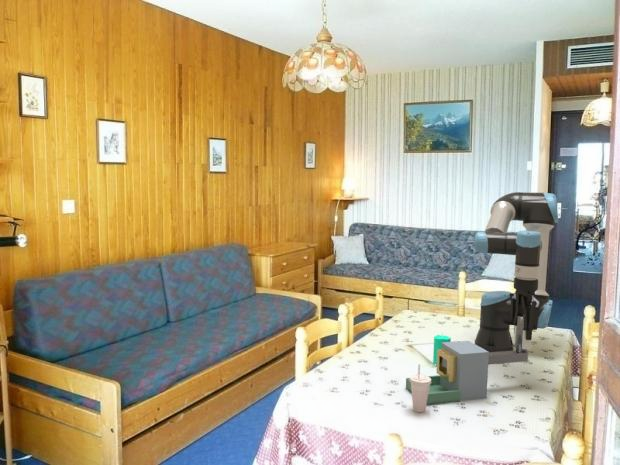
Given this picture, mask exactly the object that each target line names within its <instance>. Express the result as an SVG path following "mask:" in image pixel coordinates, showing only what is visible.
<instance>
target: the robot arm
mask: <svg viewBox="0 0 620 465" xmlns="http://www.w3.org/2000/svg"><path fill="white" fill-rule="evenodd" d="M557 201H558V200H557V196H556V194H555V193H549V192H519V191H518V192H517V191H515V192H510V193H507V194H505V195H502V196H500V197H499V198H498V199H497V200H495V202H494V203H492V205H491V207H490V217H489V219H488V222H487V224H486V227H485V229H484V231H483V230H482V231H477V232H476V233H475V235H474V241H473V242H474V244H473V246H474V250H475V252H477V253H481V254H493V255H507V256H508V255H509V256H515V258H514V259H515V262H514V276H515V277H514V278H513V289H514V290H515V292H511V291H507V290H494V291H487V292H485V293H483V294H482V295H481V301H480V313H479V314H480V315H479V316H480V318H479V329H478V331H477V334H476V337H475V339H474V344H475V345H477V346H479V347H481V348H483V349H485V350H486V351H488V352H500V351H513V350H514V346H516V335H517V318H518V315H524V321H525V329H523V338H522V349H527V350H531V344H532V339H533V331H537V330H538V329H539V330H540V329H542V330H543V329H546V328H547V327H548V326H549V325H548V324H549V321H550V316H551V311H552V307H553V300H551V299H550V294H549V293H548V292H547V291H546V284H547V270H548V256H549V243H550V231H551V230H553V228H555V224H556V223H558V222H559V213H558V203H557ZM513 221H519V222H520V221H521V222H522V226H523V228H525V230H519V231H518V232H517V233H509V232H508V230H509V227H510V224H511V222H513ZM510 326H514V327H513V329H514V330H513V334H514V336H513V338H514V339H512V334H511V331H510V330H511V327H510ZM528 326H529V327H528Z"/></svg>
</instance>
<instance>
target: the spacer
mask: <svg viewBox="0 0 620 465" xmlns="http://www.w3.org/2000/svg"><path fill="white" fill-rule="evenodd" d="M442 357H443V358H444V359H446V360H447V370H446V368H445V367H444V366H443V365H442ZM456 368H457V357H456V356H455V355H453V354H452V353H450V352H448V351H447V350H445V349H437V366H436V374H437V375H439V376H441V377H443V378H444V379H445V380H447V381H448V382H454V381H456Z"/></svg>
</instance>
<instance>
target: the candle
mask: <svg viewBox="0 0 620 465" xmlns="http://www.w3.org/2000/svg"><path fill="white" fill-rule="evenodd" d="M443 334H444V333H443V332H442V334H441V335H440V334H437V335H435V336H433V353H432V354H433V355H432V356H433V357H432V358H433V360H432V361H433V362H432V364H433V363H434V364H436V365H437V349H441V345H442V343H443V342H452V341H451V340H452V339H451V337H449V336H448V335H443ZM434 364H433V365H434Z"/></svg>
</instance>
